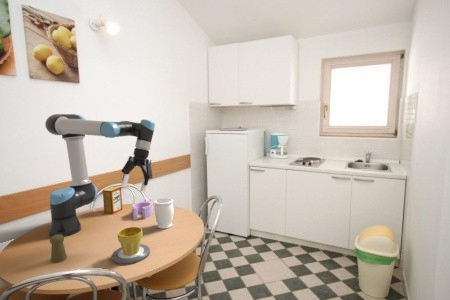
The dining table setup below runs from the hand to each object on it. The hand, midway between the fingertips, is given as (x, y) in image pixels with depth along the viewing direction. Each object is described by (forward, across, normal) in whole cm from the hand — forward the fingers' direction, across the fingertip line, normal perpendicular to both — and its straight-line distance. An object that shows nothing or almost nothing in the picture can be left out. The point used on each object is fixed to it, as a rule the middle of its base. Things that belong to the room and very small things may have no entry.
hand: (133, 189), depth 135 cm
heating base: (+27, -16, +8) cm, 33 cm away
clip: (+18, +18, -32) cm, 42 cm away
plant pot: (+26, -16, +8) cm, 32 cm away
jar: (+19, -8, -23) cm, 31 cm away
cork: (+34, +9, +24) cm, 43 cm away
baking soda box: (+22, +40, -26) cm, 53 cm away
